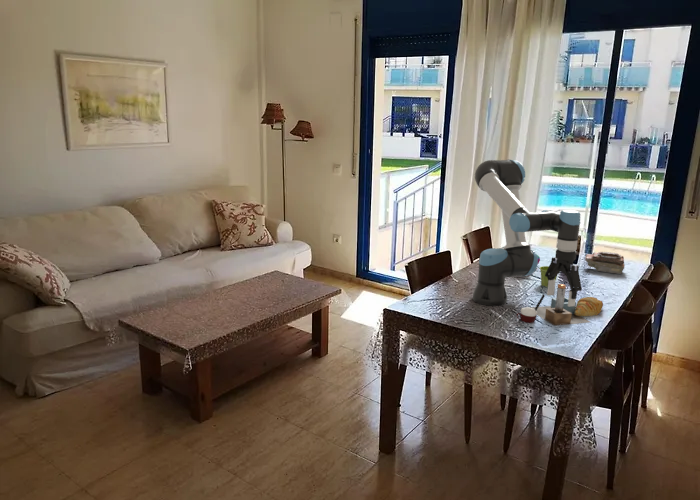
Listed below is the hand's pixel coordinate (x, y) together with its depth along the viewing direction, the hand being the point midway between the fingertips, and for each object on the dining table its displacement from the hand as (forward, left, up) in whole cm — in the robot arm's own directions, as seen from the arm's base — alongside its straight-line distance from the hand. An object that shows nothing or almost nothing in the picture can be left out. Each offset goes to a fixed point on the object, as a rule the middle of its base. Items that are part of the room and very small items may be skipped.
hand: (560, 300), depth 215 cm
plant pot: (+24, +42, -10) cm, 49 cm away
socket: (+8, +8, -9) cm, 15 cm away
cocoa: (-12, +2, -10) cm, 16 cm away
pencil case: (+27, +67, -10) cm, 73 cm away
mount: (0, 0, -9) cm, 9 cm away
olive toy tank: (+68, +57, -10) cm, 89 cm away
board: (+3, +5, -9) cm, 11 cm away
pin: (0, 0, -9) cm, 9 cm away
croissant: (+19, +7, -10) cm, 22 cm away
